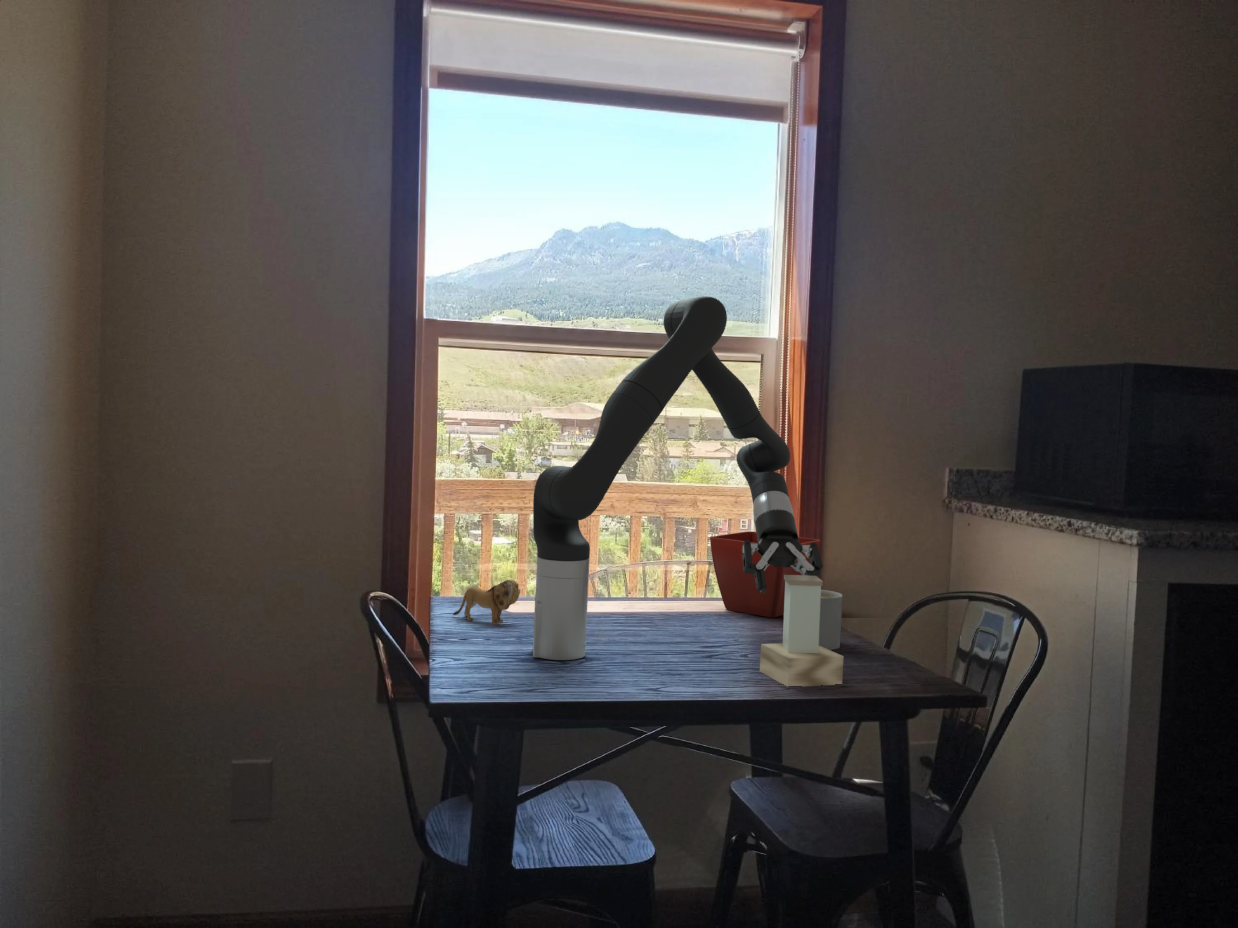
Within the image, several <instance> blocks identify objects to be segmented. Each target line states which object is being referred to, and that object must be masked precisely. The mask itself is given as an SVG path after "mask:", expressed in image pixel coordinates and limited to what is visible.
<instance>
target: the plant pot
mask: <svg viewBox="0 0 1238 928" xmlns="http://www.w3.org/2000/svg"><path fill="white" fill-rule="evenodd" d="M745 540H749V541H750V542H751V543H752V544H758V540H757V534H756V531H748V530H747V531H741V532H734V533H733V532H732V533H728V534H727V533H726V534H720V535H713V536H709V542H710V543H709V544H710V552H711V556H712V557H711V558H712V563H713V568H714V572H715V578H716V582H717V586H718V589H719V592H720V596H721V600H722V602H723V605H724V608H725V609H726V610H727V611H728V610H729V611H732V612H739V613H743V614H744V613H745V614H749V615H756V616H762V617H767V618H778V617H780V616H784V600H785V580H784V575H802V574H801V573H800V572H799V571H798V572H797V571H796V570H795V569H793V568H792V567H791V566H790V567H783V566H779V567H773V565H770V564H769V566H768V567H767V568H766V569H765V571H764V573H765V579H766V585H767V588H766V591H765V593H760V590H758V589H757V588H756V582H755V576H754V575H753V574H751V573H749V574H745V573H744V571H743V558H742V548H743V545H744V541H745ZM798 540H799V542H800V543H801V544H802V545H810V544H811V543H812V542H815V543H816V544H817V546H818V550H819V548H820V544H821V540H820V539H816V538H808V537H801V536H798ZM801 554H802V555H803V556H805V558H806V560H807V561H808V562H809V563H810V559H809V558H807V556H806V554H805V553H803V552H801ZM761 558H762V556H761V555H760V554H759V553H758V552H757V551H754V554H753V555H752V563H753V564H756V565H757V564H758V562H759V561H760V560H761ZM796 562H797V563H798V560H796ZM810 564H811V563H810Z"/></svg>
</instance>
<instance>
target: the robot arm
mask: <svg viewBox="0 0 1238 928" xmlns="http://www.w3.org/2000/svg"><path fill="white" fill-rule="evenodd" d="M727 322H728V314H727V310H726V307H725V305H724V304H723V302H721V301H720V300H719V299H718V298H716V297H713V296H708V295H707V296H705V295H703V296H702V295H701V296H695V297H690V298H685V299H684V298H683V299H681V300H677V301H674V302H673V303H671V304H670V305H669V306H668V307H667V309H666V310H665V312H664V315H663V328H664V331H665V333H666V336H667V337H668V341H666V342H665V344H664V345H663V346H661V347H660V348H659V349H658V350H657V351H655V352H654V353H653V354H651V355H650V356H649V357H648V358H646V359H645V360H643V361H642V362H641V363H639V364H638V365H637V366H636V367H635V368H633V369H632V370H631V371H630V372H629V373H628V374H627V375H626V376H625V377H624V378H622V380H621V382H620V383H619V384H618V385H617V387H615V389H614V391H613V392H612V393H611V395H610V396H609V398H608V399H607V400H606V403H605V404H604V407H603V408H602V409H603V410H602V412H601V415H600V420H599V425H598V428H597V433H596V436H595V438H594V439H593V441H592V443H591V444H590V446H589V447H588V448H587V450H586V451H585V452H584V454H583V455H582V456H581V457H580V458H579V459H578V461H577V462H575V464H573V466H567V465H554V466H553V465H552V466H548V467H547V468H545V469H544V470H543V471H542V472H541V473H540V474H539V476H538V478H537V479H536V483H535V484H534V490H533V500H532V501H533V502H532V503H533V507H532V508H533V509H532V512H533V513H532V514H533V515H532V516H533V517H532V518H533V524H532V528H533V539H534V542H535V545H536V550H537V551H536V556H537V557H536V574H535V575H536V577H535V580H536V581H535V597H534V616H533V617H534V618H533V636H532V638H533V639H532V641H533V642H532V657H533V658H540V659H546V660H551V661H552V660H553V661H573V660H578V659H579V660H580V659H582V658H584V657H585V656H586V647H587V626H588V625H587V622H588V621H587V620H588V599H589V598H588V597H589V578H590V577H589V576H590V575H589V574H590V555H591V554H590V553H591V546H590V543H589V542H588V540H587V539H586V538H585V536H584V535H583V533H582V531H581V529H580V523H579V522H580V521H582V520H585V519H586V518H589V517H590V516H591V515H592V514H593V513H594V512H595V511H596V510H597V508H598V507H599V505H600V504H601V502H602V501H603V499H604V497H605V495H607V492H608V491H609V489H610V487H611V485H612V483H613V482H614V480H615V478H616V476H617V474H619V471H620V470H621V468H622V467H623V466H624V464H625V462H626V461H627V459H628V458H629V457H630V455H631V454H632V453H633V451H634V450H635V448H636V447H637V446H638V444H639V443H640V441H641V440H642V438H643V437H644V436H645V434H646V433H647V432H648V431H649V430H650V428H651V427H652V426H653V424H654V423H655V422H656V420H657V419H658V417H659V416H660V415H661V413H662V412H663V410H664V409H665V408H666V406H667V404H668V403H669V401H671V399H672V398H673V396H674V395H675V393H676V392H677V391H678V389H679V388H680V387H681V386H682V385H683V383H684V381H685V380H686V378H687V377H688V375H690V373H691V372H693V373H694V375H695V376H696V377H697V379H698V380H699V381H700V382H701V384H702V385H703V388H704V389H705V390H706V391H707V393H708V394H709V396H710V398H711V399H712V401H713V403H714V404H715V407H716V408H717V410H718V411H719V413H720V416H721V418H722V420H723V421H724V423H725V425H726V427H727V428H728V431H729V432H730V434H731V436H732V437H733V438H734V439H737V440H746V439H758V440H756V441H754V442H751V443H748V444H745V445H744V446H742V447H741V448H740V449H739V450H738V451H737V454H736V464H737V466H738V468H739V470H740V472H741V474H742V475H743V476H744V478H745V480H746V482H747V485H748V487H749V490H750V494H751V499H752V500H751V501H752V506H753V510H752V511H753V523H754V525H755V526H754V527H755V532H756V534H757V540H758V544H752V543H751V542H750V541H749V540H745V541H744V545H743V548H742V558H743V571H744V573H745V574H749V573H751V574H753V575H754V576H755V582H756V588H757V589H758V590H760V593H765V591H766V588H767V585H766V579H765V573H764V571H765V569H766V568H767V567H768V566H769V564H770V565H773V567H779V566H783V567H790V566H791V567H792V568H793V569H795V570H796V571H797V572H798V571H799V572H800V573H801V574H802V575H808V576H817V577H819V576H820V575H821V572H822V571H823V567H824V565H823V560H822V557H821V553H820V551H819V550H818V546H817V544H816V543H815V542H812V543H811V544H810V545H802V544H801V543H800V542H799V540H798V537H799V534H798V530H797V524H796V518H795V515H794V510H793V506H792V503H791V501H790V496H789V491H788V487H787V482H786V479H785V477H784V476H783V475H782V473H780V472H777V471H779V470H782V469H784V468H785V467H787V466H788V465H789V463H790V459H791V452H790V448H789V446H788V445H787V443H786V442H785V441H784V439H783V438H782V437H781V436H780V435H779V434H778V433H777V432H776V431H775V430H774V429H773V428H772V427H771V425H769V423H768V421H766V420H765V418H764V417H763V415H762V413H761V412H760V410H759V408H758V406H757V404H756V402H755V400H754V398H753V396H752V394H751V393H750V391H749V389H748V388H747V386H746V385H745V384H744V383H743V382H742V381H741V380H740V379H739V378H738V376H736V375H735V374H734V373H733V372H732V371H731V370H730V369H729V367H727V366H726V365H725V364H724V363H723V362H722V361H721V359H720V358H719V357H718V356H717V354H716V352H715V351H714V349H713V347H714V346H715V345H716V344H717V343H718V342H719V341H720V339H721V338H722V336H723V334H724V333H725V329H726V327H727ZM754 551H757V552H758V553H759V554H760V555H761V556H762V558H761V560H760V561H759V562H758V564H757V565H756V564H753V563H752V555H753V554H754ZM801 552H803V553H805V554H806V556H807V558H809V559H810V563H811V564H810V563H809V562H808V561H807V560H806V558H805V556H803V555H802V554H801ZM796 560H798V563H797V562H796Z"/></svg>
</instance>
